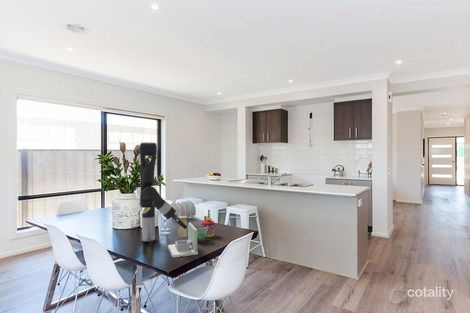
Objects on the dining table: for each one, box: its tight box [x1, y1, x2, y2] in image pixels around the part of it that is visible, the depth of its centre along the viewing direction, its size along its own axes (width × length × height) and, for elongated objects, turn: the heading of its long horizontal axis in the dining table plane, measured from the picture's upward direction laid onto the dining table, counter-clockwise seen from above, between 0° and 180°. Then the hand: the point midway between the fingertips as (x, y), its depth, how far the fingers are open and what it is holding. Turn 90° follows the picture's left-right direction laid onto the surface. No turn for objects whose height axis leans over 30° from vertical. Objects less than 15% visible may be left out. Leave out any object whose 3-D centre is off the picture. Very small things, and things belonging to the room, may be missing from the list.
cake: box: [200, 215, 216, 238], centre depth 212 cm, size 10×11×15 cm
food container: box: [196, 226, 208, 243], centre depth 198 cm, size 12×6×10 cm, turn 126°
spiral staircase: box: [170, 200, 197, 219], centre depth 266 cm, size 18×18×25 cm
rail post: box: [177, 216, 188, 238], centre depth 179 cm, size 4×4×12 cm
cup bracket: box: [167, 222, 199, 258], centre depth 179 cm, size 20×16×16 cm
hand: (185, 227), depth 179 cm, fingers closed on rail post, 4 cm apart
